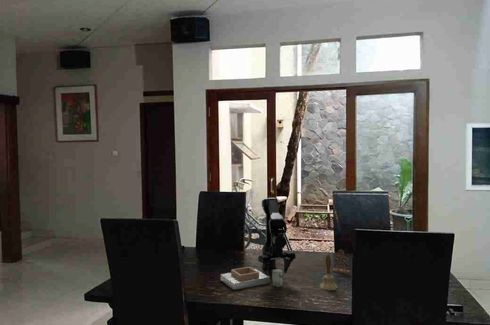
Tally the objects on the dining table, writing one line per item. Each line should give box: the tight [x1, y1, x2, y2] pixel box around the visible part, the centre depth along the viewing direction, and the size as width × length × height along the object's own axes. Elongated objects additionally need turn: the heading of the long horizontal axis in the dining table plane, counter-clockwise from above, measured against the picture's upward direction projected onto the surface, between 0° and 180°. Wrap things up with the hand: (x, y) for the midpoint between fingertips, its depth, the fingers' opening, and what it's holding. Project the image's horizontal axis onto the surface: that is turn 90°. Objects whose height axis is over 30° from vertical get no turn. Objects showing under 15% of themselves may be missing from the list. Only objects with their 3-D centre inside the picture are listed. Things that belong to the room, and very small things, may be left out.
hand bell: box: [319, 254, 338, 291], centre depth 196 cm, size 8×8×16 cm
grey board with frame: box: [220, 266, 271, 291], centre depth 206 cm, size 20×16×6 cm
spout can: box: [271, 268, 284, 288], centre depth 200 cm, size 5×7×7 cm
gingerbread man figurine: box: [331, 249, 351, 275], centre depth 220 cm, size 9×4×12 cm, turn 60°
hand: (277, 274), depth 201 cm, fingers open, 9 cm apart
